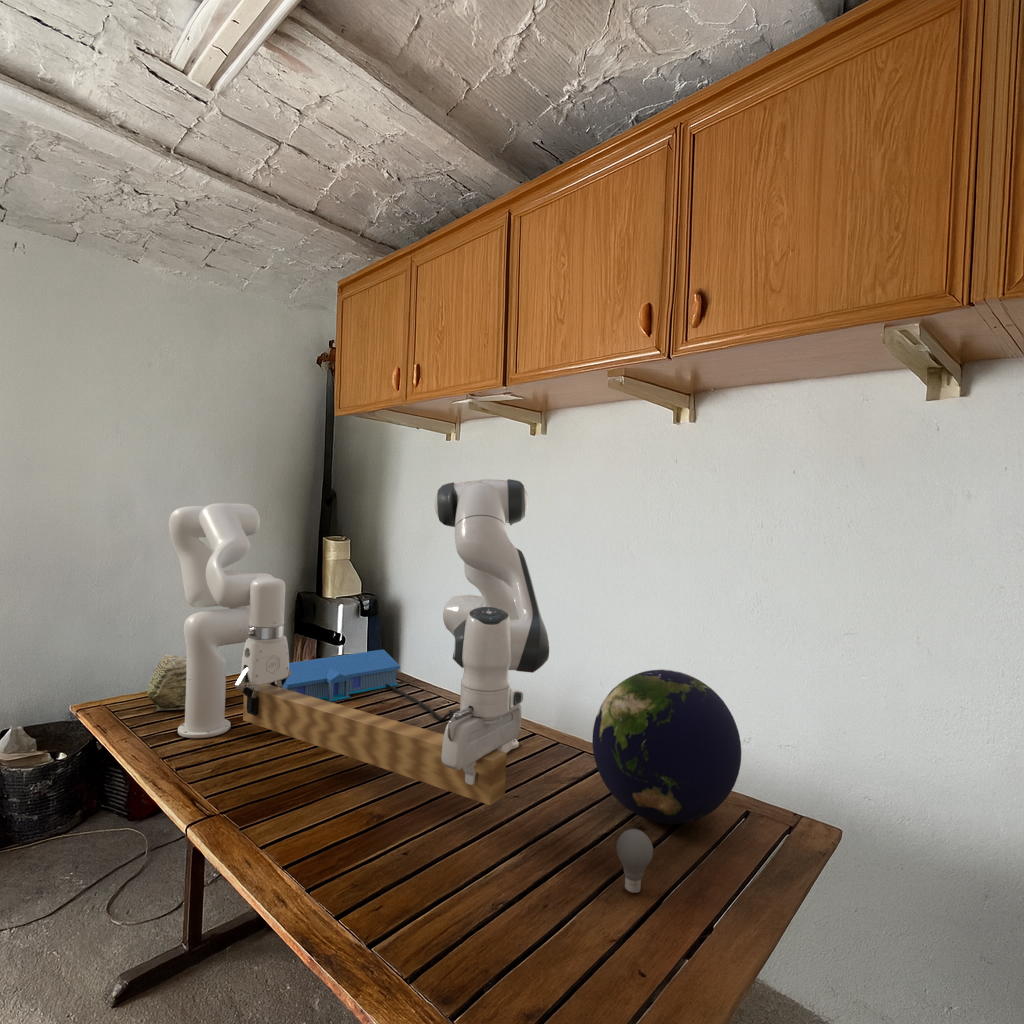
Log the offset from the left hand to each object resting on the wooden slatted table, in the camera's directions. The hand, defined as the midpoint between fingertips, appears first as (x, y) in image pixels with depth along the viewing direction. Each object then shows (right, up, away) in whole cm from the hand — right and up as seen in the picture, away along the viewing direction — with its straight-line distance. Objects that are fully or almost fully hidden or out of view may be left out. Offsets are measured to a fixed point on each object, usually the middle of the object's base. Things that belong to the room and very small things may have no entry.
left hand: (262, 709), depth 146 cm
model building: (-2, -12, +62) cm, 63 cm away
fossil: (-39, -11, +39) cm, 56 cm away
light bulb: (+78, -18, -40) cm, 89 cm away
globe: (+89, -18, -14) cm, 91 cm away
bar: (+26, -4, -16) cm, 31 cm away
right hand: (+52, -2, -32) cm, 61 cm away
